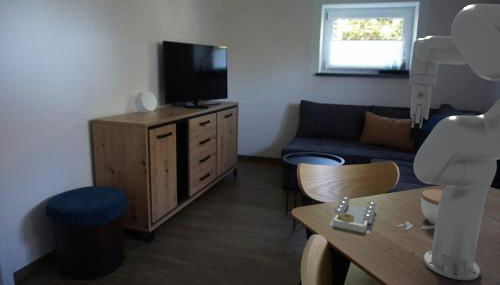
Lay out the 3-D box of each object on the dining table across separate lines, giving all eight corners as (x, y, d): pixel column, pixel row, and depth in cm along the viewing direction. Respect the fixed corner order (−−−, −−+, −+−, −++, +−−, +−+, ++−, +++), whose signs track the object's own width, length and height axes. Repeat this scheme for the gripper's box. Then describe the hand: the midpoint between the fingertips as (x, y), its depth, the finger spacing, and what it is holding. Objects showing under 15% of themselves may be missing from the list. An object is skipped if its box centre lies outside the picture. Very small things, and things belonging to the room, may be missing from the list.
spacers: (370, 226, 112) (371, 217, 112) (333, 218, 117) (334, 210, 116) (375, 210, 124) (376, 202, 124) (341, 204, 129) (342, 196, 128)
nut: (351, 228, 110) (352, 219, 110) (338, 225, 112) (339, 216, 111) (354, 223, 114) (355, 214, 113) (341, 220, 116) (342, 211, 115)
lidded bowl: (468, 232, 112) (474, 199, 110) (425, 228, 114) (429, 195, 111) (452, 216, 124) (457, 185, 122) (413, 212, 126) (417, 182, 124)
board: (368, 236, 107) (369, 227, 107) (328, 228, 112) (329, 219, 112) (376, 212, 125) (377, 204, 125) (341, 206, 130) (342, 198, 129)
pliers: (441, 222, 116) (416, 234, 108) (440, 226, 117) (416, 239, 108) (412, 211, 124) (386, 222, 115) (411, 215, 124) (386, 226, 116)
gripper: (437, 82, 102) (428, 146, 106) (435, 80, 115) (427, 137, 119) (408, 81, 105) (400, 143, 109) (409, 79, 118) (403, 134, 122)
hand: (414, 140), depth 114 cm, fingers closed
